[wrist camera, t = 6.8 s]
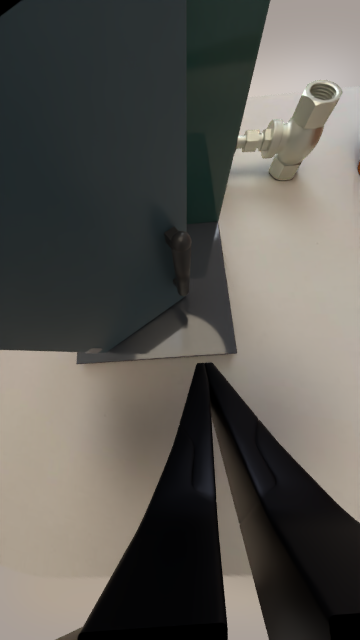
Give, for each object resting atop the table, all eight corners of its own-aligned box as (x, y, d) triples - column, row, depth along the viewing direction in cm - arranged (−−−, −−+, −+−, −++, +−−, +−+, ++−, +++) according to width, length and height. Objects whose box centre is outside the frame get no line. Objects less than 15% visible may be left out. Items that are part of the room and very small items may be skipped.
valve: (293, 152, 22) (208, 157, 22) (337, 68, 15) (216, 78, 16) (302, 188, 20) (211, 194, 21) (355, 112, 14) (221, 122, 14)
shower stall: (233, 353, 16) (740, 336, 1) (83, 363, 17) (-767, 434, 2) (215, 225, 20) (303, -161, 5) (92, 236, 20) (-166, -91, 5)
